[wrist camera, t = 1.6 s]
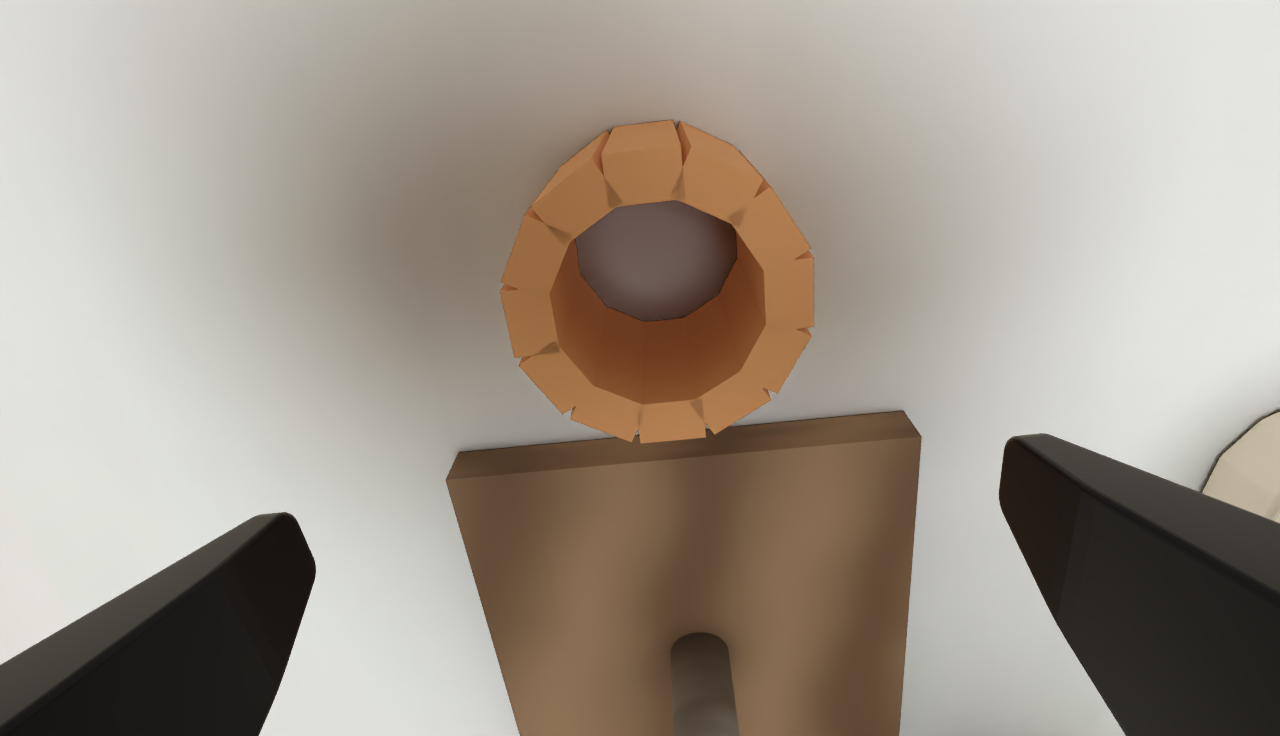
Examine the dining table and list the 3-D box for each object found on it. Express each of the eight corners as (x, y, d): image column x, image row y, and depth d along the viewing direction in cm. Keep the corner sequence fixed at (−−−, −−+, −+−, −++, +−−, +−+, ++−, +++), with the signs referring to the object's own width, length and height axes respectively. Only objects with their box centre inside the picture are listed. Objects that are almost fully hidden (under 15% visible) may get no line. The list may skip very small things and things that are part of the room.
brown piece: (903, 410, 20) (1005, 555, 15) (882, 750, 27) (946, 942, 21) (458, 452, 21) (386, 605, 16) (546, 772, 28) (519, 962, 22)
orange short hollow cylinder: (769, 108, 17) (813, 129, 12) (776, 340, 20) (814, 427, 15) (519, 138, 17) (473, 169, 13) (561, 361, 20) (535, 453, 15)
